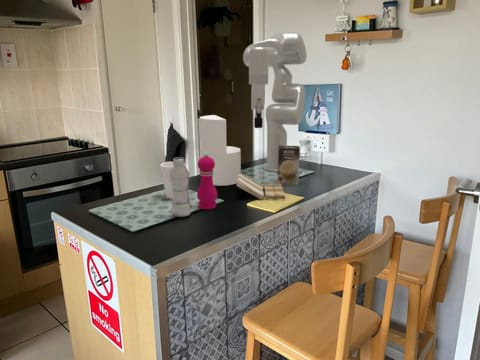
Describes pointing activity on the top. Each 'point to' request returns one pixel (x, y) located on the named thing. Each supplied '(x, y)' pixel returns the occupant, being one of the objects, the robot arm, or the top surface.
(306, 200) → the top surface
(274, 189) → the oak floorboards
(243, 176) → the birch plank
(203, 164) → the pepper mill
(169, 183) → the foam cup
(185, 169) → the plastic bottle
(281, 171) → the coffee box
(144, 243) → the top surface
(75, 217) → the top surface
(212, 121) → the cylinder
